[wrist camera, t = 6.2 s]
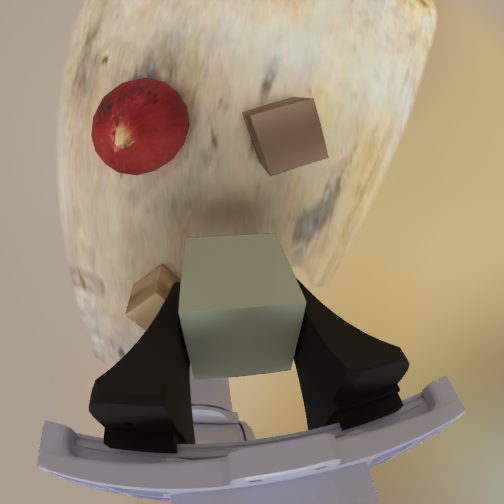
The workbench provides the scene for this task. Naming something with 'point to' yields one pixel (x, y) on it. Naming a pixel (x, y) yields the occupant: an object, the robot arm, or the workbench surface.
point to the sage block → (239, 306)
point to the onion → (140, 126)
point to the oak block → (150, 296)
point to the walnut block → (286, 134)
